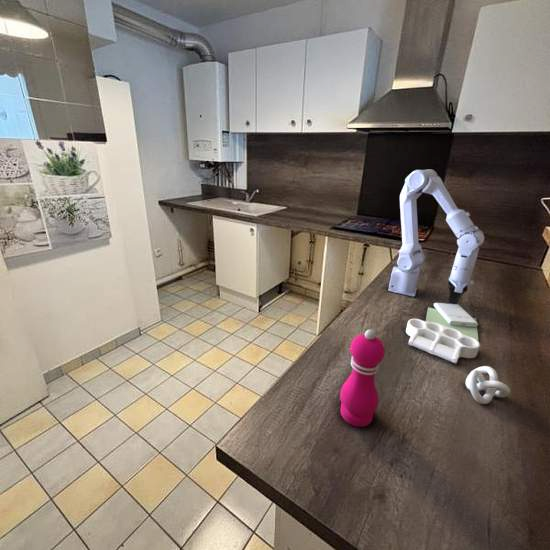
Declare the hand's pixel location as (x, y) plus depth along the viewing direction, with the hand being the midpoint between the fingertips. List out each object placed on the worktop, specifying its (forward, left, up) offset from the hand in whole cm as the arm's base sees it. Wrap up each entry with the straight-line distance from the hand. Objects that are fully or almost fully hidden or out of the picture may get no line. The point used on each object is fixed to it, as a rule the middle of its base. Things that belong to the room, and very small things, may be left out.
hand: (452, 303), depth 100 cm
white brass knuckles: (-3, -27, -2) cm, 27 cm away
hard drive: (+1, -8, -1) cm, 8 cm away
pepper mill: (-16, -62, -2) cm, 64 cm away
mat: (0, -12, -1) cm, 12 cm away
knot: (+6, -43, -2) cm, 43 cm away
